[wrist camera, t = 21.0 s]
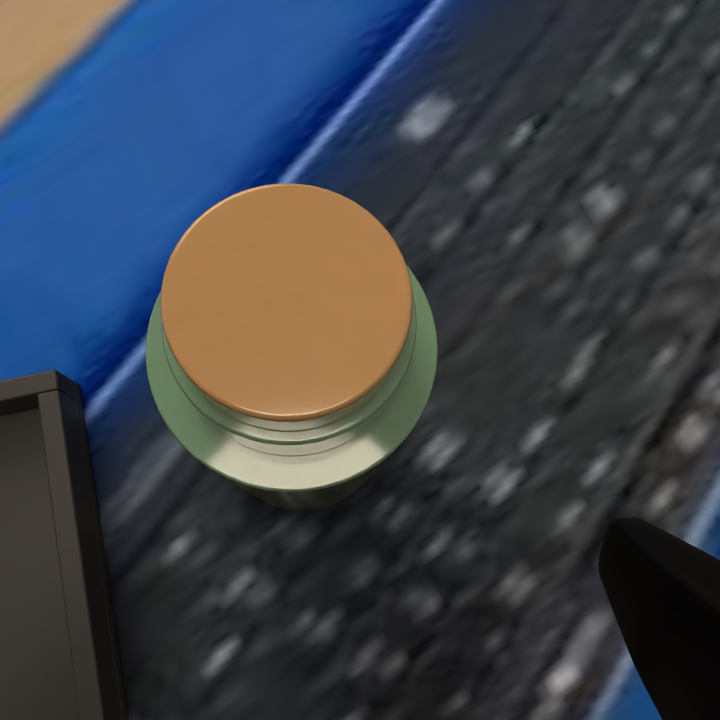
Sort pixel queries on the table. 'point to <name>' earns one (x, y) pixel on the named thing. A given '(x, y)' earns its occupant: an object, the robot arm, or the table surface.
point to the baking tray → (52, 561)
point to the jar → (290, 344)
